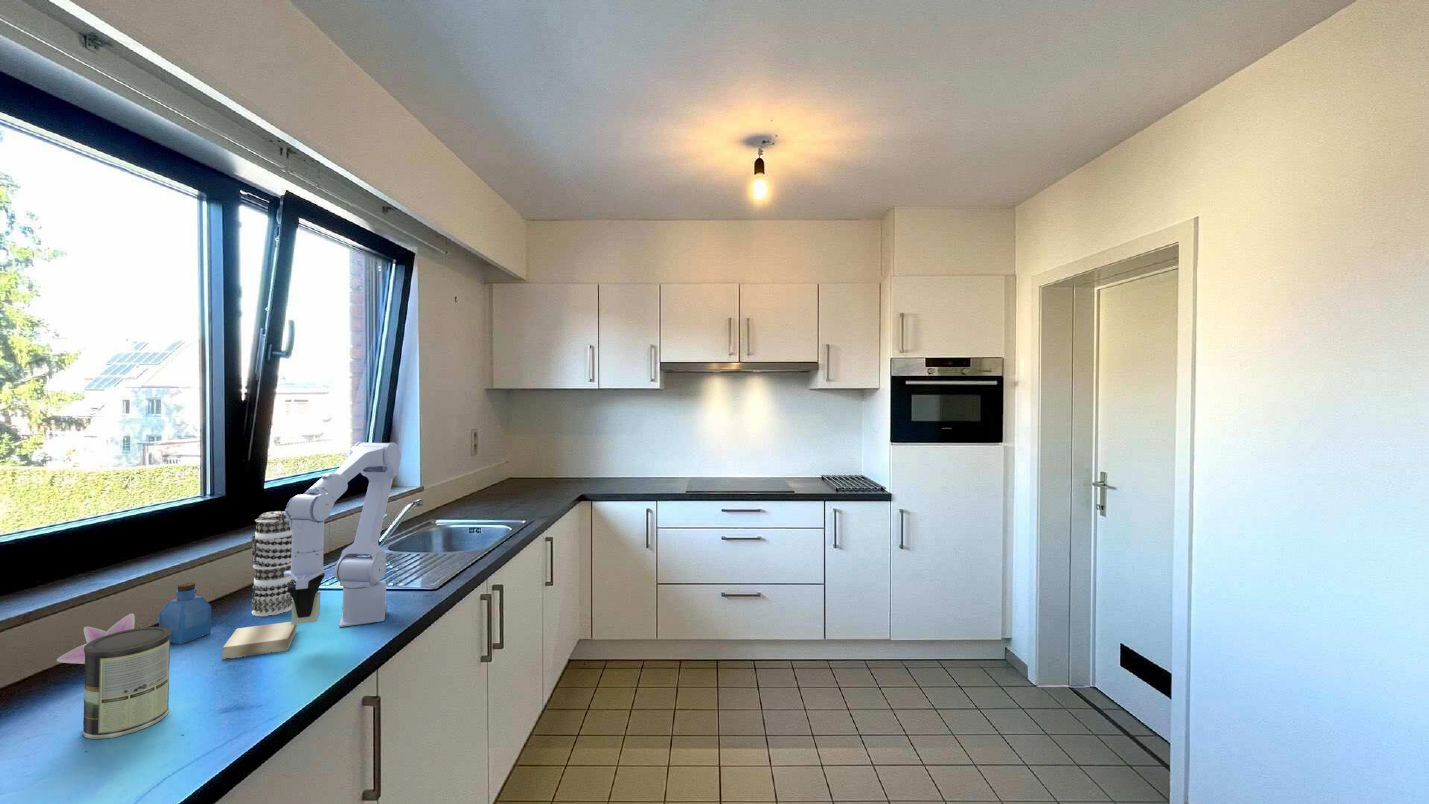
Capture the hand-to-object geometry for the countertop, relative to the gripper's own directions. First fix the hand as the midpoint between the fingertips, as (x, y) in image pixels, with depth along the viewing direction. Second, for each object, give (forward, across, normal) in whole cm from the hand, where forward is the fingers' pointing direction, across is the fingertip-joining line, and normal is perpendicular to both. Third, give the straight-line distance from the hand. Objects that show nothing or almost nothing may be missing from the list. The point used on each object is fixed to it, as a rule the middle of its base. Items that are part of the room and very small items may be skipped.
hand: (306, 612), depth 125 cm
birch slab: (+9, -8, -9) cm, 15 cm away
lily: (+9, -5, -32) cm, 34 cm away
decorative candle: (+9, -32, -11) cm, 35 cm away
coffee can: (+9, +20, -22) cm, 31 cm away
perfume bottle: (+9, -20, -25) cm, 33 cm away
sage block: (+1, 0, 0) cm, 1 cm away
